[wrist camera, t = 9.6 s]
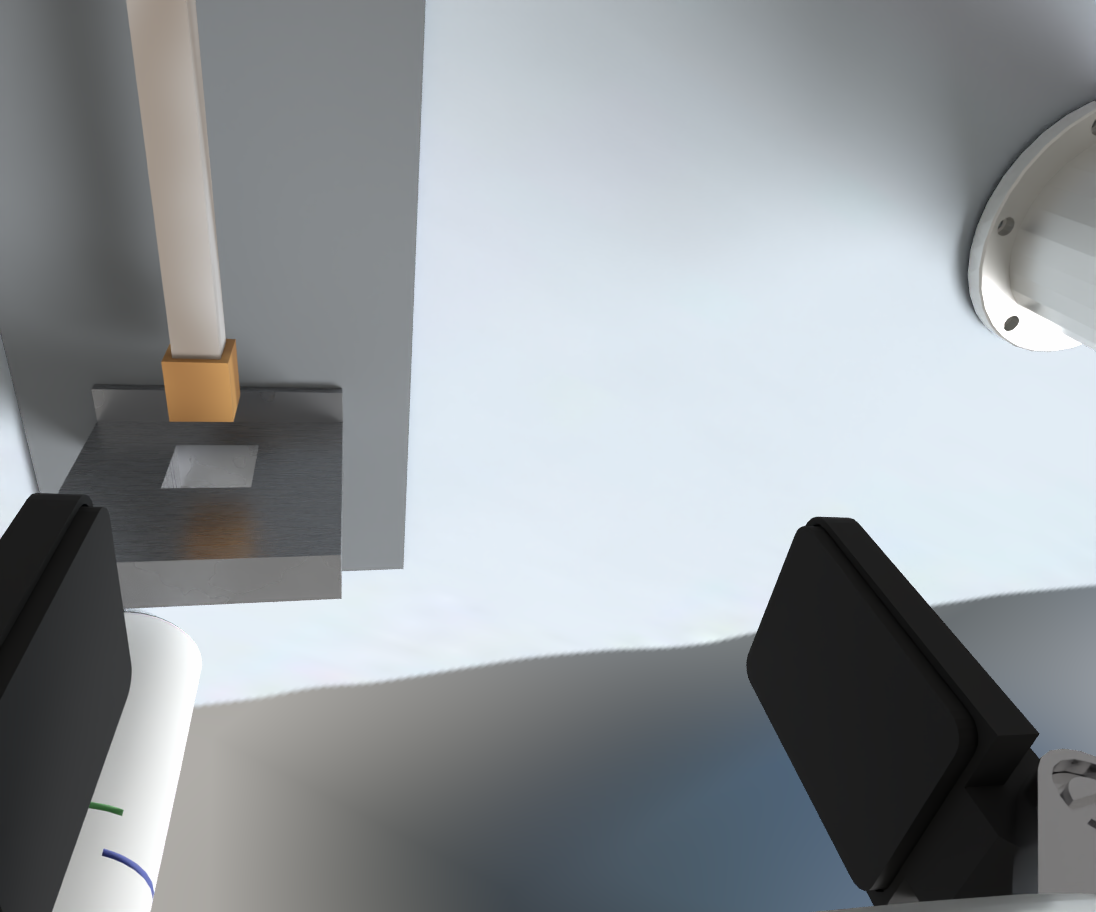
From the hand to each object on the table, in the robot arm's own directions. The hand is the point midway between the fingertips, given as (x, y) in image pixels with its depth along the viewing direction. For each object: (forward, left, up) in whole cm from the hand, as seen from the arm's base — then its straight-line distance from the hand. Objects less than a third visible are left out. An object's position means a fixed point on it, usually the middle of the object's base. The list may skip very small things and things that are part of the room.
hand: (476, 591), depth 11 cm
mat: (+7, +4, -25) cm, 26 cm away
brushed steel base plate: (+7, +12, -25) cm, 28 cm away
